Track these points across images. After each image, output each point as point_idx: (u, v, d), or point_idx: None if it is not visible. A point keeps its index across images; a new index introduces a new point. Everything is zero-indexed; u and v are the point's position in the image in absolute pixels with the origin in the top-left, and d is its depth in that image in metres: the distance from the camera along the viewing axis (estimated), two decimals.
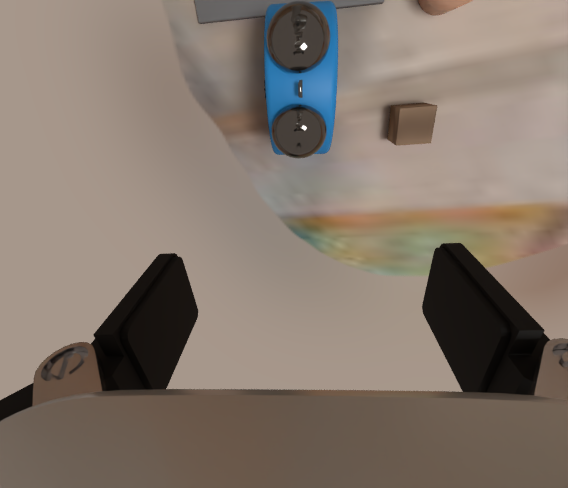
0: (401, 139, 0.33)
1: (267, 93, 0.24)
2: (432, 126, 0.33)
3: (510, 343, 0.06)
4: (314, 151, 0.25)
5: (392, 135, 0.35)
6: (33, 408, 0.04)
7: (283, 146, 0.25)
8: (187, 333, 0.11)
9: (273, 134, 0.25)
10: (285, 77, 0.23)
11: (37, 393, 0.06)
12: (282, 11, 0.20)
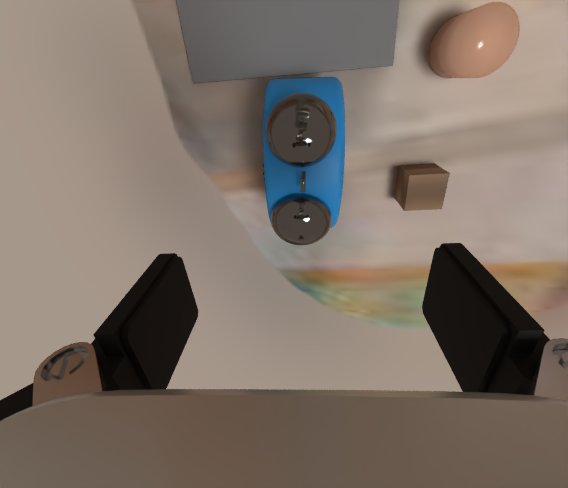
0: (410, 205, 0.31)
1: (266, 183, 0.21)
2: (443, 193, 0.30)
3: (510, 343, 0.06)
4: (318, 240, 0.23)
5: (400, 197, 0.33)
6: (33, 408, 0.04)
7: (284, 237, 0.22)
8: (187, 333, 0.11)
9: (273, 224, 0.22)
10: (286, 168, 0.21)
11: (37, 393, 0.06)
12: (284, 107, 0.18)
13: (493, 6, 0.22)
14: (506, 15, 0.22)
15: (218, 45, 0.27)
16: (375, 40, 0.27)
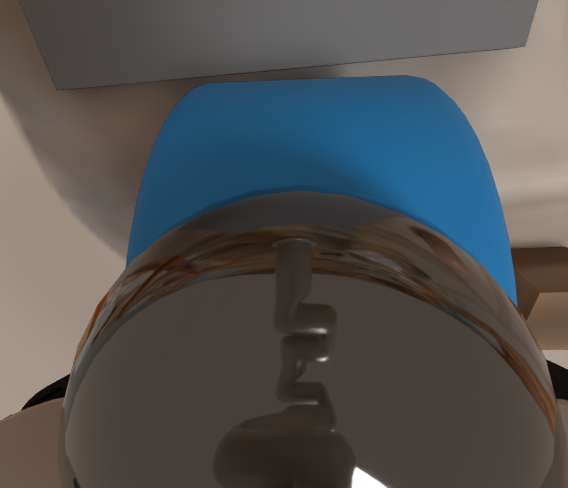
0: None
1: None
2: None
3: None
4: None
5: None
6: (33, 408, 0.04)
7: None
8: None
9: None
10: None
11: None
12: (130, 384, 0.02)
13: None
14: None
15: None
16: None
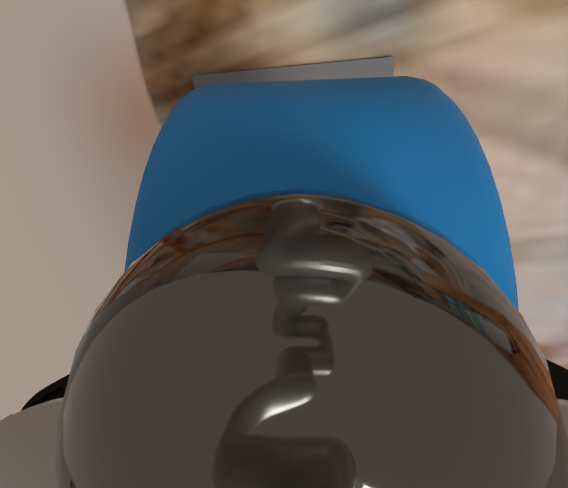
0: None
1: None
2: None
3: None
4: None
5: None
6: (33, 408, 0.04)
7: None
8: None
9: None
10: None
11: None
12: (128, 391, 0.02)
13: None
14: None
15: None
16: None
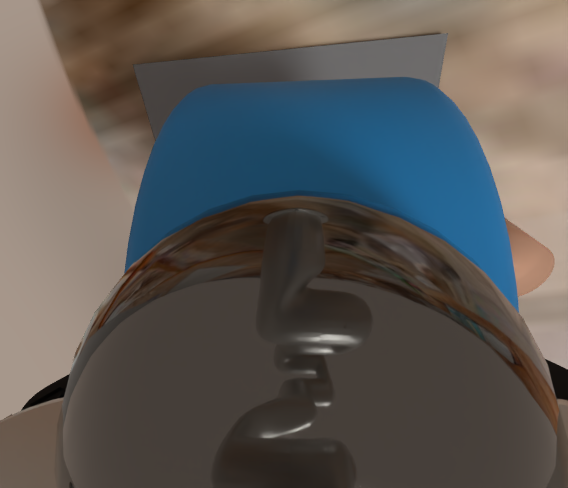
0: None
1: None
2: None
3: None
4: None
5: None
6: (33, 408, 0.04)
7: None
8: None
9: None
10: None
11: None
12: (126, 395, 0.02)
13: (526, 246, 0.19)
14: (540, 253, 0.20)
15: None
16: None
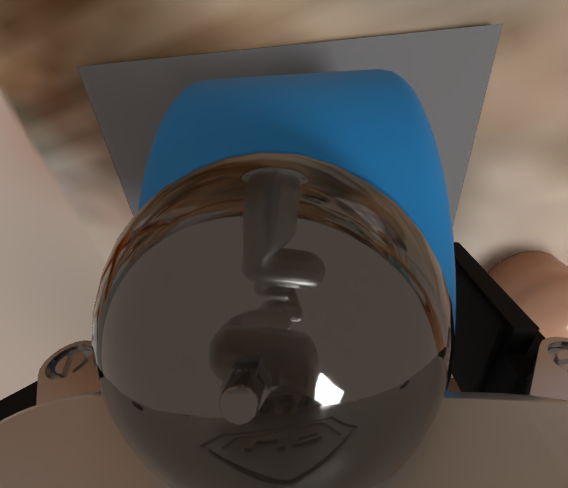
0: None
1: None
2: None
3: (506, 341, 0.06)
4: None
5: None
6: (33, 408, 0.04)
7: None
8: None
9: None
10: None
11: (41, 391, 0.06)
12: (142, 270, 0.03)
13: None
14: None
15: None
16: None
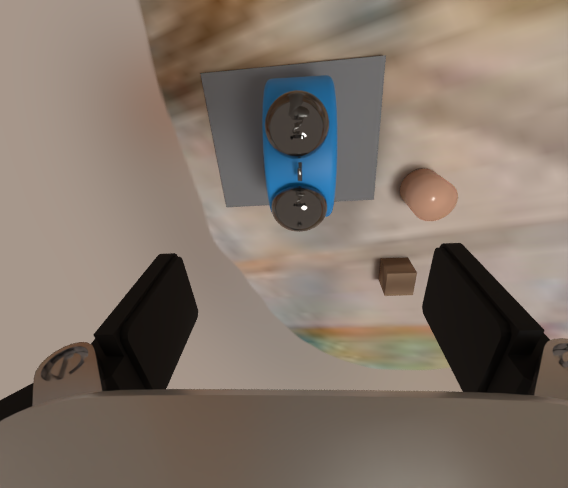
0: (389, 292, 0.41)
1: (266, 174, 0.23)
2: (413, 285, 0.41)
3: (510, 343, 0.06)
4: (315, 226, 0.25)
5: (382, 283, 0.43)
6: (33, 408, 0.04)
7: (284, 223, 0.24)
8: (187, 333, 0.11)
9: (273, 212, 0.24)
10: (284, 160, 0.23)
11: (37, 393, 0.06)
12: (280, 104, 0.20)
13: (438, 183, 0.32)
14: (448, 188, 0.32)
15: (246, 185, 0.38)
16: (360, 184, 0.37)
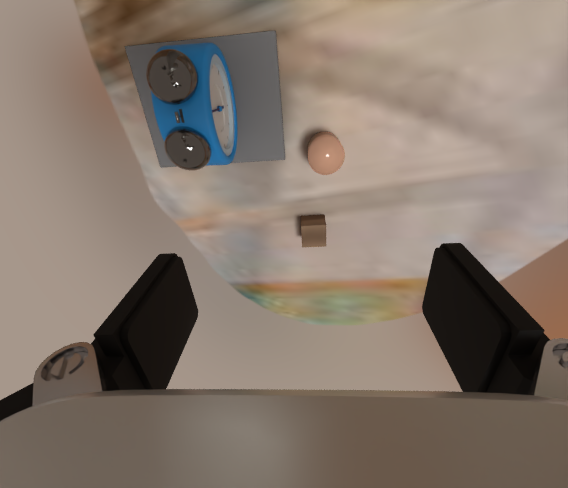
0: (305, 243, 0.47)
1: (156, 119, 0.29)
2: (325, 236, 0.46)
3: (510, 343, 0.06)
4: (201, 165, 0.31)
5: None
6: (33, 408, 0.04)
7: (174, 161, 0.30)
8: (187, 333, 0.11)
9: None
10: (168, 107, 0.29)
11: (37, 393, 0.06)
12: (153, 59, 0.26)
13: (326, 139, 0.38)
14: (334, 144, 0.38)
15: None
16: (271, 145, 0.43)
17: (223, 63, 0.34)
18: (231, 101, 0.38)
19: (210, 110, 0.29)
